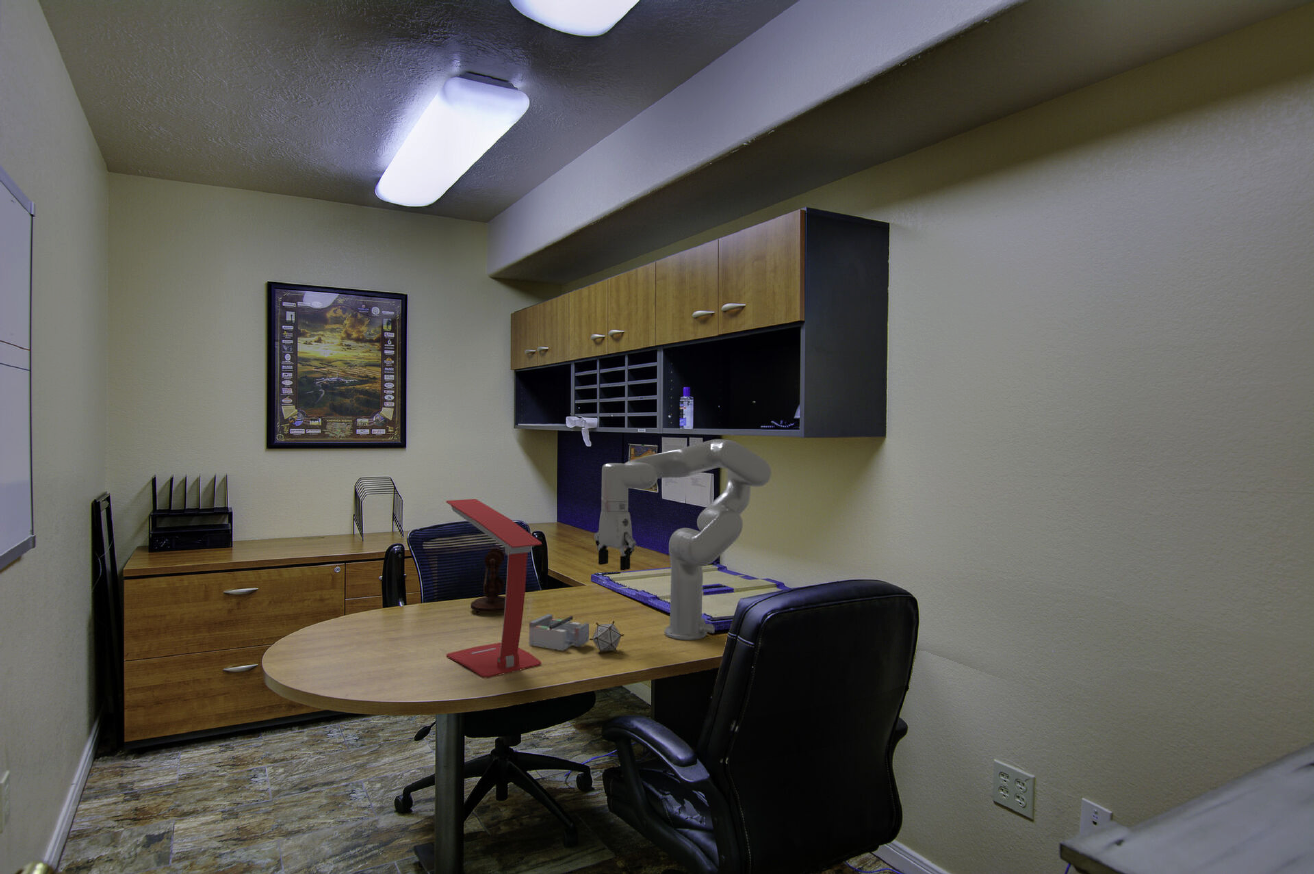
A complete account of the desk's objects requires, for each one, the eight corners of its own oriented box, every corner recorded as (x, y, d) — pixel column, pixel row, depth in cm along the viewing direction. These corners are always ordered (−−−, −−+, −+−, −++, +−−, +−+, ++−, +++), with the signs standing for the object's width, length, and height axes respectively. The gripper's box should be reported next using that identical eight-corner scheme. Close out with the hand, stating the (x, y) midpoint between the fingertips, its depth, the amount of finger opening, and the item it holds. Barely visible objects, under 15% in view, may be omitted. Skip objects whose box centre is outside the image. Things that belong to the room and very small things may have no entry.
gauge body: (580, 641, 203) (580, 618, 203) (562, 650, 194) (563, 627, 194) (547, 635, 207) (547, 614, 207) (528, 644, 198) (529, 622, 198)
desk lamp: (487, 633, 208) (489, 498, 207) (557, 670, 179) (559, 512, 178) (428, 644, 197) (430, 501, 196) (492, 686, 167) (494, 517, 166)
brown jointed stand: (474, 604, 240) (475, 546, 239) (518, 604, 241) (519, 546, 241) (467, 616, 225) (468, 554, 225) (514, 616, 227) (515, 554, 226)
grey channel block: (593, 638, 202) (594, 619, 202) (573, 649, 191) (573, 630, 191) (570, 634, 205) (570, 615, 205) (548, 645, 195) (548, 626, 194)
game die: (608, 662, 196) (623, 629, 201) (618, 661, 189) (633, 626, 193) (580, 648, 194) (595, 614, 199) (589, 645, 187) (605, 611, 192)
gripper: (644, 508, 197) (644, 570, 197) (605, 503, 209) (605, 560, 210) (624, 511, 192) (623, 573, 192) (585, 504, 204) (585, 563, 205)
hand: (614, 566), depth 201 cm, fingers open, 9 cm apart
